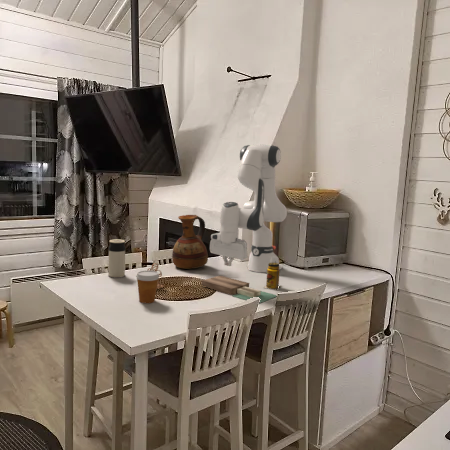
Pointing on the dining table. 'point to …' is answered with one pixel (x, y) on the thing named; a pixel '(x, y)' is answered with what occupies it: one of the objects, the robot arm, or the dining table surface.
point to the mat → (263, 296)
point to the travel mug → (116, 258)
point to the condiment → (273, 276)
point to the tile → (248, 291)
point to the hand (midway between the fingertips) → (227, 265)
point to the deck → (224, 284)
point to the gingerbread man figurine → (156, 271)
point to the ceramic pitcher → (190, 245)
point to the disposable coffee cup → (147, 285)
